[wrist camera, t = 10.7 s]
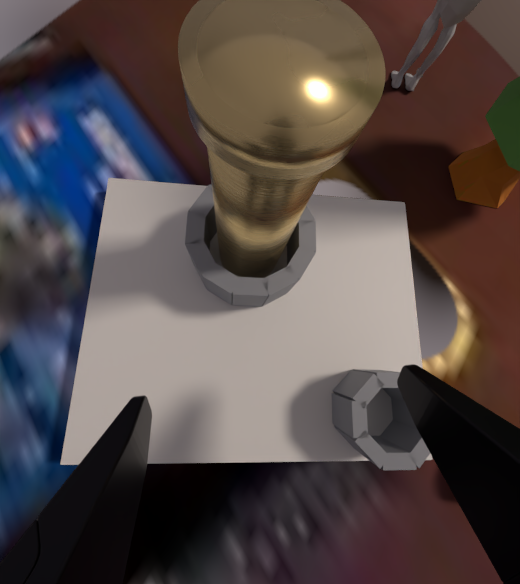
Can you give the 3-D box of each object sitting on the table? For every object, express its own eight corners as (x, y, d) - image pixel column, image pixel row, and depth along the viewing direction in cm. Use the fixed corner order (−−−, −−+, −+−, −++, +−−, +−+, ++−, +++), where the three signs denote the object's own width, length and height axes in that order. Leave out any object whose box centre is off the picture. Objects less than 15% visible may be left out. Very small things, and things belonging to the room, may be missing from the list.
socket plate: (416, 451, 19) (482, 486, 14) (75, 455, 16) (10, 497, 12) (393, 212, 23) (438, 173, 18) (117, 190, 20) (81, 139, 16)
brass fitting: (263, 300, 18) (337, 182, 6) (200, 267, 18) (133, 75, 6) (294, 242, 19) (412, 36, 7) (234, 211, 19) (242, -52, 7)
